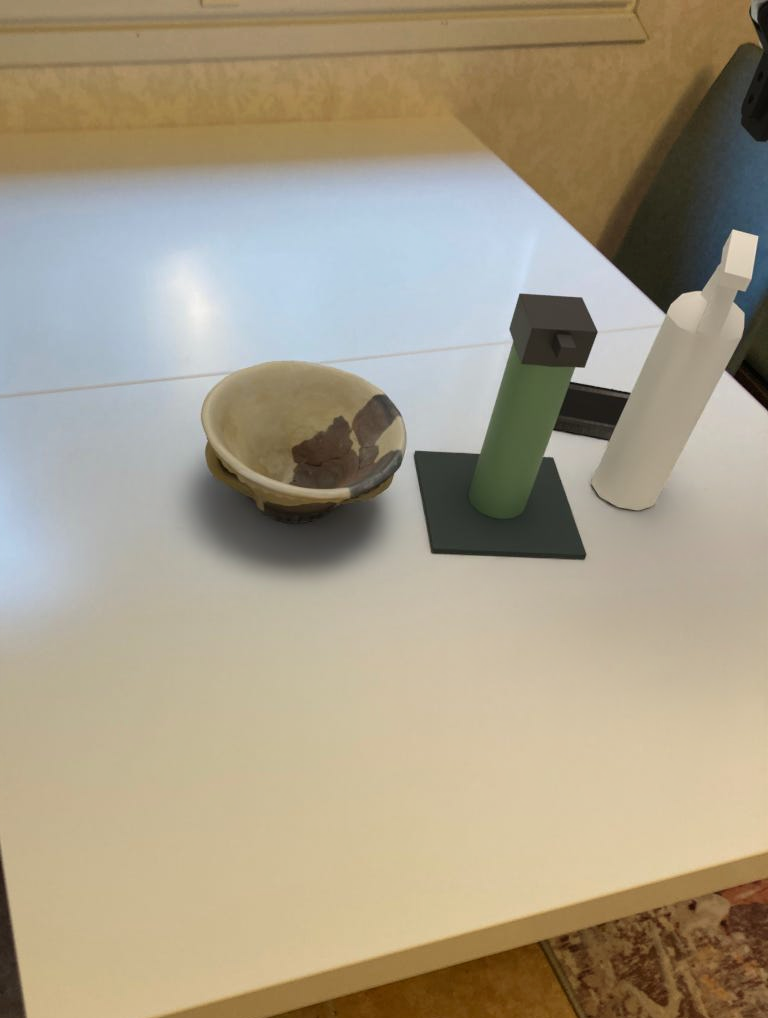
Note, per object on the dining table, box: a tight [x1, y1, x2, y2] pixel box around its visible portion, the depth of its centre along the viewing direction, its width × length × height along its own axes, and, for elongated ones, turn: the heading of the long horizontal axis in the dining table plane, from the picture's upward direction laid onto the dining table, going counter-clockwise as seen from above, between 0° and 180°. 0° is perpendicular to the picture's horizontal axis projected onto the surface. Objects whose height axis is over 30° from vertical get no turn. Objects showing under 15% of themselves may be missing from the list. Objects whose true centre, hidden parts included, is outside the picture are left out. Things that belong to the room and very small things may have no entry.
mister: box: [469, 293, 599, 519], centre depth 79 cm, size 7×5×19 cm
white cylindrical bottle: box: [590, 229, 759, 511], centre depth 82 cm, size 7×12×25 cm, turn 157°
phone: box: [553, 381, 631, 440], centre depth 98 cm, size 8×1×15 cm
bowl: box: [200, 360, 408, 524], centre depth 82 cm, size 18×18×10 cm
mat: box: [413, 450, 587, 560], centre depth 87 cm, size 14×14×1 cm
